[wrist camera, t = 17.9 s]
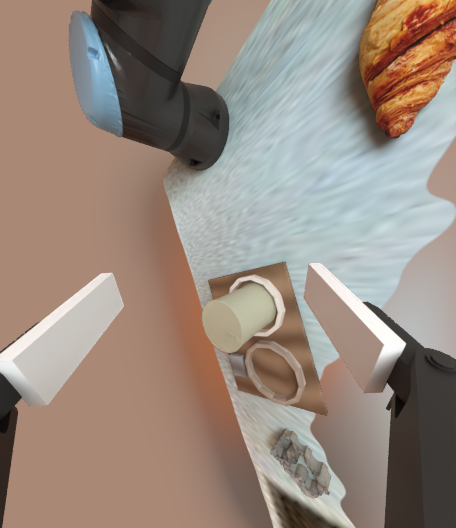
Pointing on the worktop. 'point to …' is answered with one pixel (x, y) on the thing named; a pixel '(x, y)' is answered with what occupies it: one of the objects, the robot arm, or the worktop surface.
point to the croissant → (406, 58)
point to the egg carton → (298, 470)
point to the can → (238, 316)
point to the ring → (274, 293)
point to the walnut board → (282, 336)
